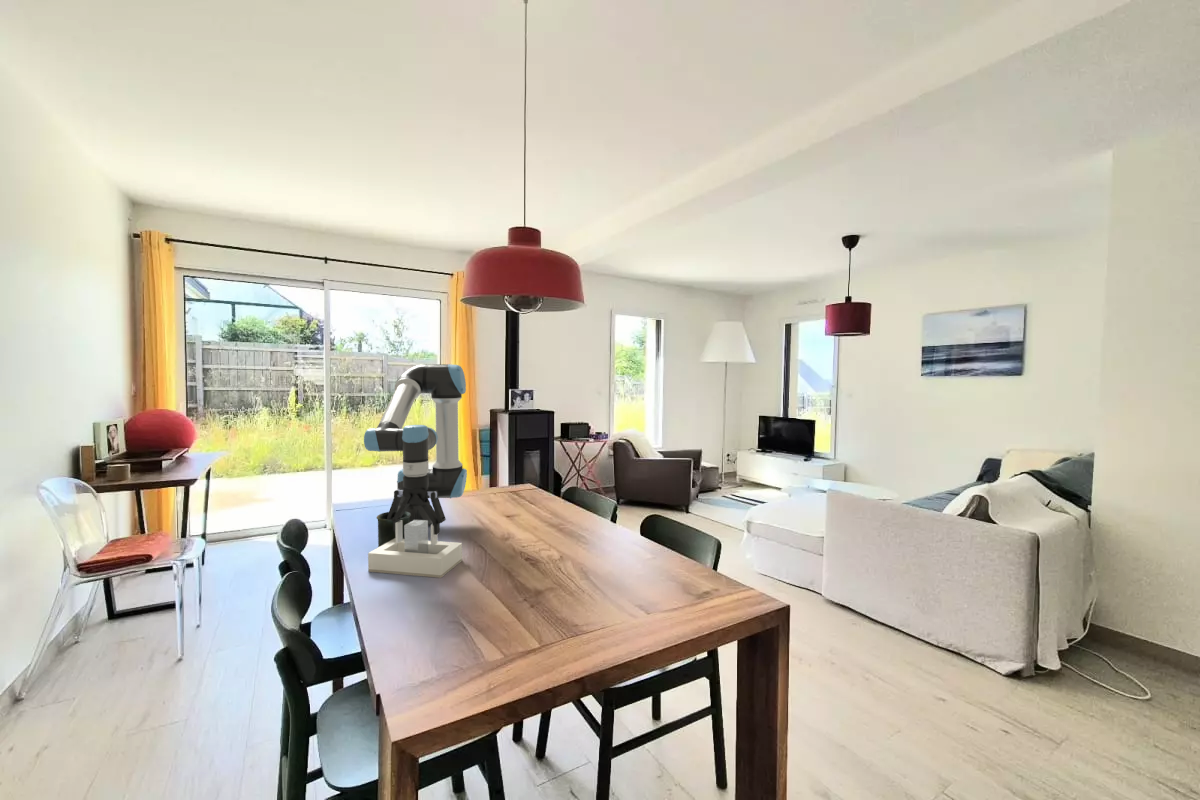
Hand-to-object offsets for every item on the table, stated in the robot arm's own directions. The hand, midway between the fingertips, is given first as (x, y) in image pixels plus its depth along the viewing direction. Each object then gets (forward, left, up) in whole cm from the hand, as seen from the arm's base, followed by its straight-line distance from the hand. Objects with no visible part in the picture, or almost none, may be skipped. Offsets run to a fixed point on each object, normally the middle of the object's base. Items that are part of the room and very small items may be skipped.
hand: (416, 543), depth 154 cm
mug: (-13, -17, -8) cm, 23 cm away
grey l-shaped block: (0, +3, -7) cm, 7 cm away
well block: (0, 0, -7) cm, 7 cm away
